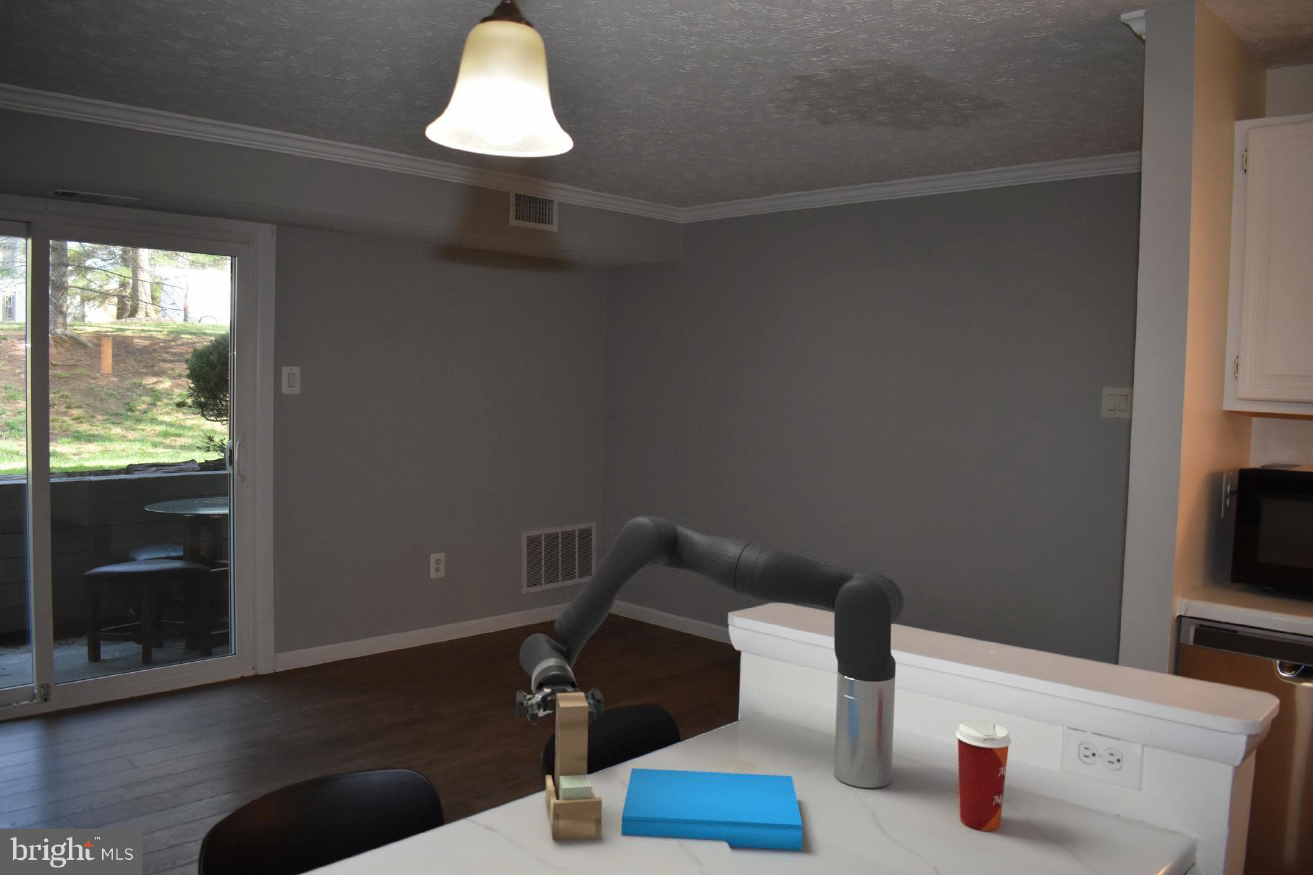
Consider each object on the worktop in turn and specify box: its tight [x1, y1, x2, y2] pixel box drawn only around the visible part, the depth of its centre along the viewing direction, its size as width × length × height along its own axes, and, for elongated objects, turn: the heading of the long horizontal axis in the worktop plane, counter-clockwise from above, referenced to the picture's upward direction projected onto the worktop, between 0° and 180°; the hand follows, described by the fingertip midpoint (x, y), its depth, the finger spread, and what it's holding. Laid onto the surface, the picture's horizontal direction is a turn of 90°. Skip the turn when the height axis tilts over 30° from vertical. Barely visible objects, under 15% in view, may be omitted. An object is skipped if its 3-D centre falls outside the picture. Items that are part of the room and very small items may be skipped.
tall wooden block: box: [554, 691, 589, 800], centre depth 135 cm, size 6×4×16 cm, turn 11°
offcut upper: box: [559, 774, 592, 800], centre depth 129 cm, size 4×4×3 cm
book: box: [620, 767, 803, 851], centre depth 135 cm, size 17×4×25 cm
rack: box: [544, 774, 603, 841], centre depth 132 cm, size 13×7×6 cm, turn 11°
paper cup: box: [955, 720, 1012, 832], centre depth 135 cm, size 8×8×14 cm
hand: (563, 717), depth 146 cm, fingers open, 8 cm apart
